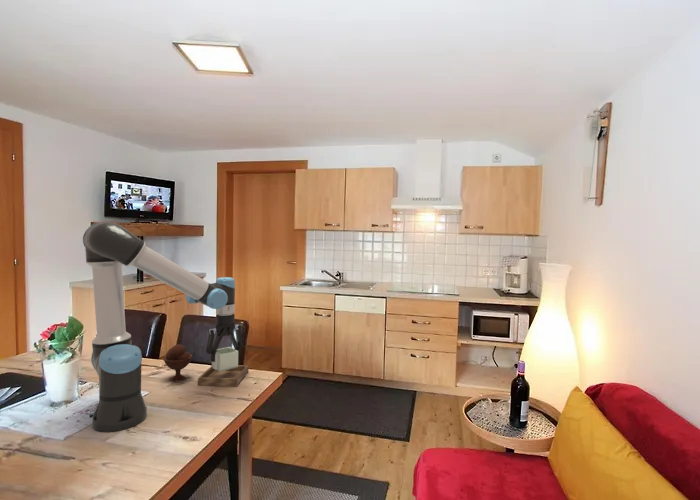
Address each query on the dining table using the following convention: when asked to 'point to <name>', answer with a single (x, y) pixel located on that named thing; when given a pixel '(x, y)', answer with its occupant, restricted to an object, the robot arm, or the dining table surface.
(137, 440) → the dining table surface
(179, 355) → the ice cream bowl
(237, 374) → the walnut tray
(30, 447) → the dining table surface
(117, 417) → the robot arm
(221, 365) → the sage crate
